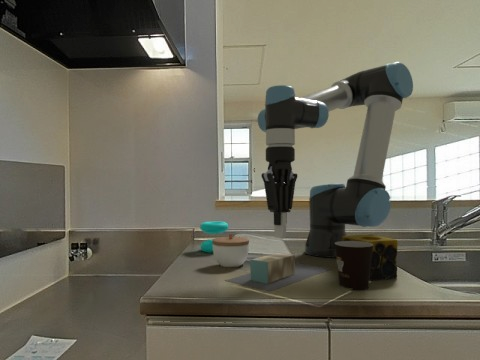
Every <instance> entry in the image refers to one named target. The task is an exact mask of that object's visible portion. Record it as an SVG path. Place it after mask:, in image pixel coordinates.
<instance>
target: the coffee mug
mask: <svg viewBox="0 0 480 360" xmlns="http://www.w3.org/2000/svg"><path fill="white" fill-rule="evenodd" d="M335 250H336V257H335V258H336V265H337V272H338V282H339V283H338V284H339V286H340V287H342V288H346V289H350V290H351V291H354V292H355V291H357V292H358V291H367V290H368V289H369V286H370V285H369V284H370V280H369V278H370V269H371V260H372V252H373V244H371V243H368V242H360V241H340V242H335Z"/></svg>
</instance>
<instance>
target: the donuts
mask: <svg viewBox="0 0 480 360" xmlns="http://www.w3.org/2000/svg"><path fill="white" fill-rule="evenodd" d="M199 227H200V230H201V231H202V232H203V233H205V234H210V235H211V234H216V235H217V234H222V233H225V232H226V231H227V230H229V224H228V223H227V222H226V221H220V220H219V221H217V220H216V221H214V220H212V221H204V222H201V224H200V226H199ZM212 240H213V239H207V240H204V241H202V242H201V244H200V246H199V249H200V250H201V251H202V252H204V253H213V243H212Z"/></svg>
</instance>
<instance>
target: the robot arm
mask: <svg viewBox="0 0 480 360" xmlns="http://www.w3.org/2000/svg"><path fill="white" fill-rule="evenodd" d="M413 90H414V83H413V77H412V74H411V72H410V70H409V68H408V67H407V66H406V65H405V64H404V63H402V62H400V61H396V62H392V63H389V62H388V63H386V64H384V65H380V66H377V67H376V66H375V67H372V68H367V69H366V70H361V71H358V72H356V73H353V74H352V75H351V74H350V76H347V77H345V78H343V79H341V80H337V81H336V82H333V83H332V85H331V86H330V87H327V88H324V89H321V90H318V91H314V92H313V93H310V94H306V95H304V96H300V97H298V96H296V92H295V88H294V87H292V85H291V86H290V85H283V84H280V85H273V86H269V87H268V88H267V89H266V91H265V102H264V103H265V104H264V109H261V111H259V113H258V115H257V121H256V122H257V125H258V127H259V129H260V130H261V131H262V132H264V133H265V146H267V147H266V148H265V161H266V162H267V163H268V166H267V171H266V172H263V173H261V179H262V181H263V185H264V191H265V198H266V205H267V210H268V211H269V212H270V213H273V225H274V226H273V227H274V228H273V230H274V231H273V232H274V234H273V236H274V238H277V239H286V238H287V222H288V219H287V215H288V213H291V210H292V208H293V204H294V203H293V202H294V195H295V190H296V189H295V187H296V181H297V179H298V173H294V172H293V167H292V163H293V162H294V161H295V160H296V155H295V153H296V152H295V151H296V149H295V148H294V147H293V146H294V145H296V136H295V135H296V134H295V132H296V130H297V129H303V128H310V129H319V128H322V127H323V126H325V125H326V123H327V122H328V119H329V115H330V114H329V113H330V112H332V111H334V110H337V109H339V110H345V109H347V108H350V107H352V108H353V107H358V106H366V108H367V109H366V114H365V120H364V124H363V129H362V135H361V139H360V142H359V143H360V144H359V148H358V153H357V156H356V157H357V158H356V162H355V166H354V172H353V175H352V176H350V177H349V178H348V179H347V180H346V181H347V182H346V184H344V183H330V184H319V185H316V186H312V187H311V188H310V191H309V198H308V203H309V232H308V236H307V238H306V241H305V244H304V253H305V254H307V255H309V256H314V257H321V258H336V250H335V242H340V241H342V236H348V235H347V232H346V225H351V226H358V227H363V228H368V227H369V228H370V227H373V228H374V227H378V226H380V225H381V224H383V223H384V222H385V221H386V219H387V218H388V217H389V214H390V211H391V207H392V202H391V195H390V193H389V192H388V191H387V190H386V188H387V186H386V185H385V183H384V182H383V181H382V180H383V175H384V172H385V171H384V170H385V165H386V160H387V156H388V149H389V146H390V145H389V144H390V141H391V134H392V130H393V125H394V119H395V115H396V112H397V111H398V110H400V109H401V108H402V106H403V99H407V98H409V97H410V96H411V95H412V94H413Z"/></svg>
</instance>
